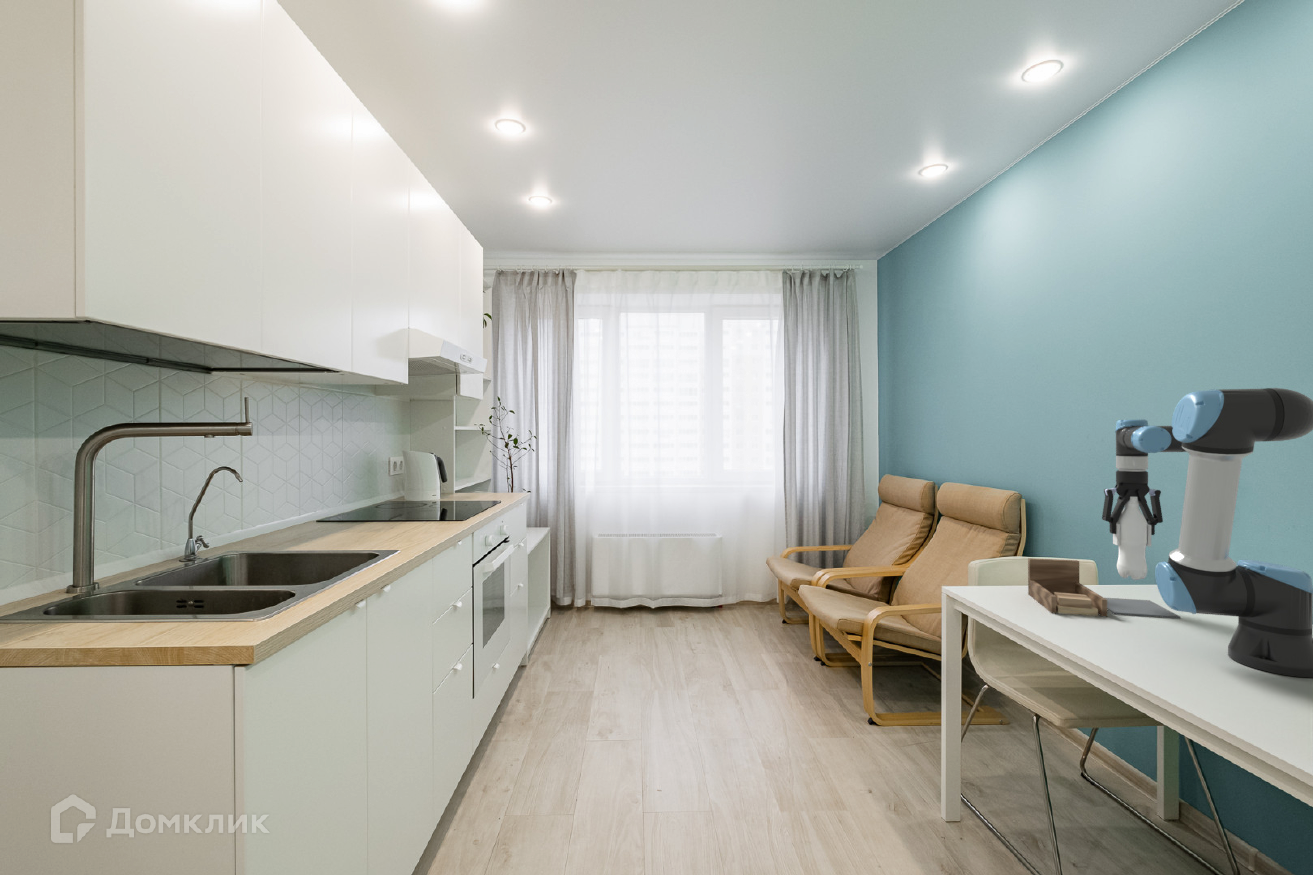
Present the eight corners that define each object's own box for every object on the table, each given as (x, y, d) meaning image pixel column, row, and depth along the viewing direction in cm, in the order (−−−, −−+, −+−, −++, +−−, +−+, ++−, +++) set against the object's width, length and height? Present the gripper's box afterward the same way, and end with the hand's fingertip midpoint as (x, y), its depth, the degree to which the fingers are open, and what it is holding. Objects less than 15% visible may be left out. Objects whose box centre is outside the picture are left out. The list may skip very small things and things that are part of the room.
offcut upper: (1091, 608, 166) (1091, 600, 166) (1058, 605, 170) (1058, 597, 170) (1085, 602, 172) (1085, 594, 172) (1054, 600, 175) (1054, 592, 175)
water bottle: (1153, 580, 169) (1153, 497, 168) (1129, 581, 169) (1129, 497, 169) (1134, 574, 176) (1134, 494, 176) (1110, 574, 176) (1110, 494, 176)
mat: (1180, 618, 162) (1180, 616, 162) (1114, 614, 167) (1114, 612, 167) (1149, 602, 178) (1149, 600, 178) (1089, 598, 182) (1089, 596, 182)
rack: (1107, 616, 165) (1106, 575, 165) (1051, 612, 169) (1051, 573, 169) (1077, 596, 184) (1077, 560, 184) (1028, 594, 188) (1028, 558, 188)
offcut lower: (1097, 617, 166) (1097, 609, 166) (1058, 615, 169) (1058, 606, 169) (1087, 610, 173) (1087, 602, 173) (1049, 607, 176) (1049, 599, 176)
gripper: (1164, 469, 173) (1164, 543, 173) (1087, 468, 178) (1087, 541, 179) (1179, 471, 165) (1179, 549, 166) (1098, 470, 171) (1098, 546, 172)
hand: (1131, 544), depth 172 cm, fingers closed on water bottle, 7 cm apart
